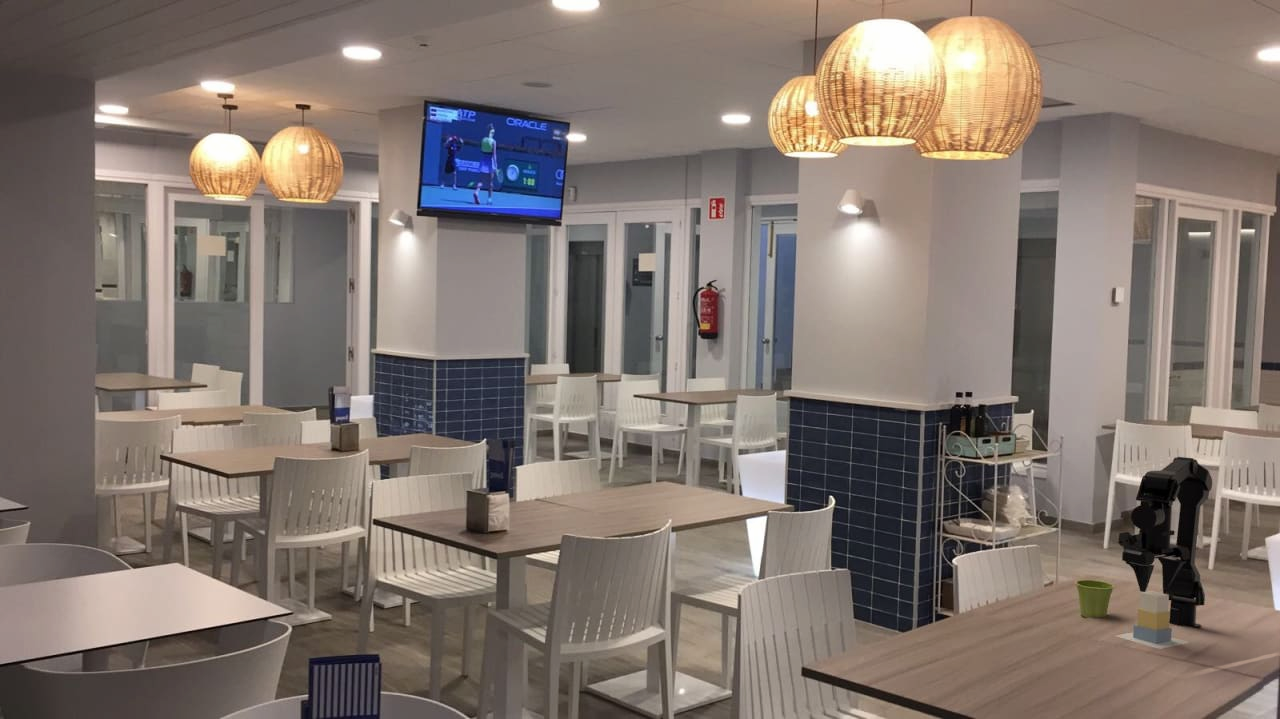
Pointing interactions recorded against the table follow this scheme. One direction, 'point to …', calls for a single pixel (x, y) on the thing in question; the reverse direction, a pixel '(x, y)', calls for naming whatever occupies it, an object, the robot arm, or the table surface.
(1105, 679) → the table surface
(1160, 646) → the build plate
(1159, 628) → the brick ochre
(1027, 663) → the table surface
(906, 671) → the table surface
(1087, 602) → the plant pot
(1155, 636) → the base brick
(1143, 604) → the brick cream
